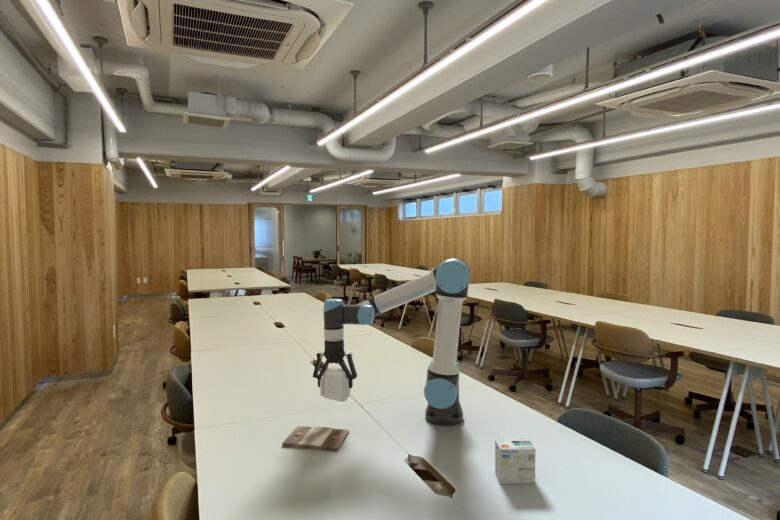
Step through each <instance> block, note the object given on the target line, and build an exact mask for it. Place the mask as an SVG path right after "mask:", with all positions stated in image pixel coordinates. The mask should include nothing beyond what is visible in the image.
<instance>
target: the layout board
mask: <svg viewBox="0 0 780 520" xmlns="http://www.w3.org/2000/svg"><path fill="white" fill-rule="evenodd" d="M349 434H350V429H345V428H344V429H343V428H342V429H341V428H334V427H326V426H317V425H316V426H303V425H297V426H296V427H295V428H294V429H293V430H292V432H291V433H290V434H289V435H288V436H287V437H286V438H285V439H284V440H283V441H282V443H281V445H282V447H285V448H296V447H297V448H300V449H307V450H309V449H310V450H318V451H319V450H321V451H331V452H332V451H335V452H339V450H340V449H341V447H342V445H343V444H344V442H345V441H346V439H347V437H348V436H349ZM297 448H296V449H297Z"/></svg>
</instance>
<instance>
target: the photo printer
mask: <svg viewBox="0 0 780 520" xmlns="http://www.w3.org/2000/svg"><path fill="white" fill-rule="evenodd" d="M322 378H323V396H322V397H323V398H324V399H327V400H333V401H336V402H346V401H348V398H347V386H346V381H347V380H348V378H347V376H346V373H345V371H343V369H342V368H340V367H335V366H329V367H327V368H326V370H325V371H324V373H323V376H322Z"/></svg>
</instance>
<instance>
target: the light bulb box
mask: <svg viewBox="0 0 780 520" xmlns="http://www.w3.org/2000/svg"><path fill="white" fill-rule="evenodd" d="M494 453H495V454H494V472H495V473H494V474H495V477H496V479H497V480H498V482H499V484H500V485H517V484H519V485H523V484H525V485H528V484H529V485H530V484H534V485H535V484H536V447H535V446H534V445H533V443H532V442H531V440H530V439H529V438H518V439H517V438H516V439H510V438H509V439H494Z"/></svg>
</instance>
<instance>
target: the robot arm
mask: <svg viewBox="0 0 780 520" xmlns="http://www.w3.org/2000/svg"><path fill="white" fill-rule="evenodd" d="M470 278H471V269H470V266H469V264H468V263H467V262H466V261H465V260H464V259H462V258H458V257H451V258H448V259H446V260H444V261H442V262H441V263H440V264H438V265H437V266H436V267H433V268H431V270H430V272H428V273H425V274H424V275H423V274H422V275H421V276H419V277H417V278H414V279H411V280H409V281H407V282H405V283H403V284H399V285H398V286H395V287H393V288H390V289H389V290H385V291H384V292H381V293H378V294H376V295H375V296H372V297H369V298H366V299H364V300H362V301H360V302H359V303H357V304H345V303H344V300H343V299H341V298H330V299H329V298H327V299H326V300H324V302H323V311H322V312H323V330H324V331H323V335H324V336H323V338H324V339H325V340H324V341H323V342H324V344H323V345H324V351H318V352H317V353H316V360H315V361H316V362H315V366H314V370H313V373H312V378H316V379H317V386H318V388H319V389H320V391H319V393H320V394H319V395H320V397H323V373H324V371H325V370H326V368H328V366H329V365H330V364H338V366H340V367H341V368H340V369H343V371H345V373H346V376H347V381H346V386H347V399H348V398H350V396H351V389H352V388H354V387H353V385H354V383H353V381H354V380H355V379H357V377H358V373H357V370H356V366H355V363H354V360H353V352H346V351H345V340H344V337H345V335H344V332H345V331H344V330H345V328H344V325H359V326H360V325H362V326H367V325H372V324H373V323H374V321H375V317H376V316H378V315H380V314H383V313H385V312H388V311H390V310H392V309H395V308H397V307H400V306H402V305H405V304H408V303H410V302H412V301H415V300H417V299H419V298H421V297H424V296H427V295H428V294H432V293H434V292H435V293H434V294H435V297H437V299H438V303H437V304H438V305H437V314H436V324H435V335H434V343H433V354H432V361H431V360H430V363H429V365H428V366H427V370H426V371H427V372H426V379H425V380H426V381H425V384H424V385H425V386H424V388H423V393H424V394H423V395H424V398H425V400H426V402H427V406H426V409H425V411H424V412H425V416H424V417H425V420H426V421H428V422H429V423H432V424H434V425H439V426H454V425H458V424H461V422H463V421H464V411H463V408H462V404H461V401H460V371H461V370H460V364H459V362H457V357H458V347H459V339H460V329H461V319H462V311H463V310H462V309H463V302H464V301H465V300H467V299H468V293H469V286H470V285H469V284H470ZM344 357H345V358H346V360H347V363H348V366H349V368H348V366H347V364H346V362H345V359H344ZM322 358H325V359H326V360H325V362H324V364H323V366H322V368H321V369H320V367H321V363H322V360H323V359H322ZM319 371H320V372H319Z"/></svg>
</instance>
